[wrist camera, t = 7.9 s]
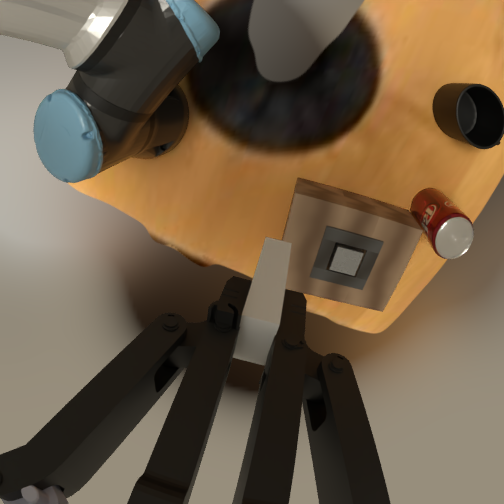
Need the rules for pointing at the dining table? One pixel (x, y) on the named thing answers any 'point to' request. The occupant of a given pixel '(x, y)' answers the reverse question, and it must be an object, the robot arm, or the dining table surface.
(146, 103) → the robot arm
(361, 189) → the dining table surface
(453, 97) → the mug
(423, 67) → the dining table surface
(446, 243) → the soda can
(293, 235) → the socket block
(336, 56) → the dining table surface
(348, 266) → the peg
